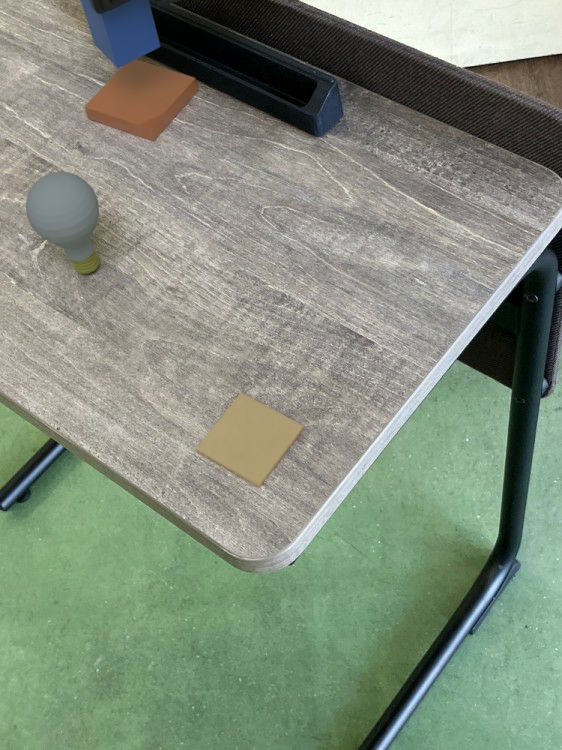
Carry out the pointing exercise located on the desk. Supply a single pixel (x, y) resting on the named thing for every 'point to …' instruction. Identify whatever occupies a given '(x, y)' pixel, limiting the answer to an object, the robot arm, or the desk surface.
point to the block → (123, 31)
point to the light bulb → (66, 216)
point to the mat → (250, 439)
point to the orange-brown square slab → (141, 99)
